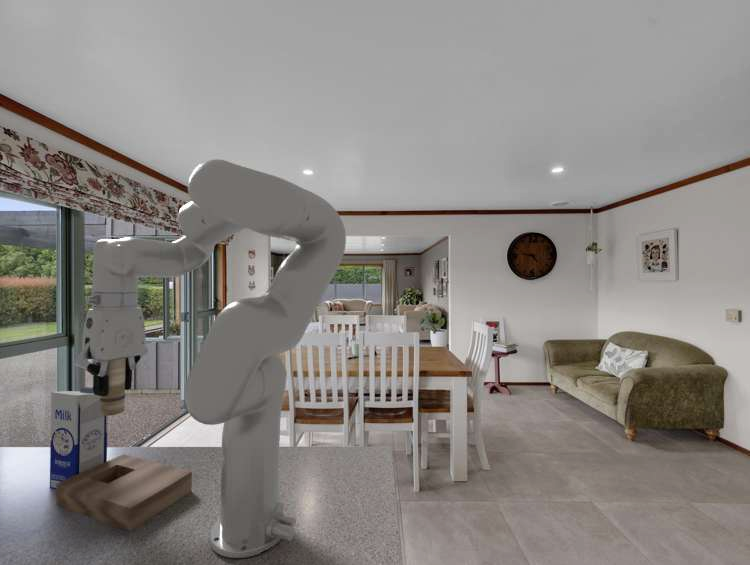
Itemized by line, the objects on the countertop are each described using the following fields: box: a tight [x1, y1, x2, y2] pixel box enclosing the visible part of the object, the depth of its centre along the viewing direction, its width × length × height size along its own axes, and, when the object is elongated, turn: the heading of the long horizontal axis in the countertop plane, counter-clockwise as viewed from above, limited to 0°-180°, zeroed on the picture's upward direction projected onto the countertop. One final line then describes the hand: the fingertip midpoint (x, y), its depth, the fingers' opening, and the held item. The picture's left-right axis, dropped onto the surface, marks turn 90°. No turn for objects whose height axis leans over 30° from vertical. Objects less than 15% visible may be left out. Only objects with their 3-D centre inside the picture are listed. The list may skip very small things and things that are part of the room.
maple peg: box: [100, 358, 126, 417], centre depth 74 cm, size 4×4×12 cm
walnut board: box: [55, 453, 193, 532], centre depth 73 cm, size 20×13×4 cm, turn 70°
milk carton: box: [49, 386, 108, 490], centre depth 78 cm, size 7×7×20 cm
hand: (112, 391), depth 74 cm, fingers closed on maple peg, 4 cm apart
